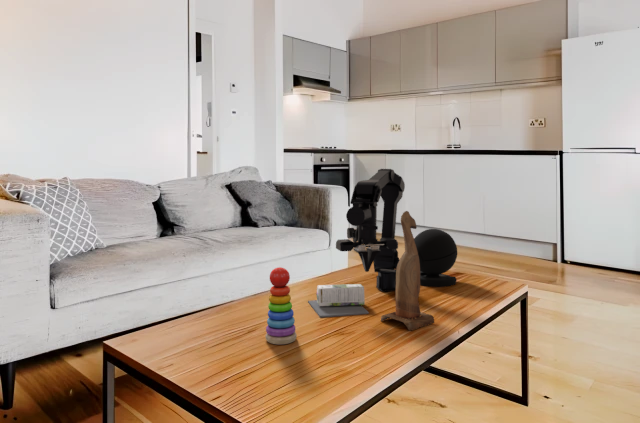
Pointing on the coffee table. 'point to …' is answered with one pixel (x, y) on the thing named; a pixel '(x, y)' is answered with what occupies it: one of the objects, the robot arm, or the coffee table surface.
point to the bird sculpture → (408, 282)
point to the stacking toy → (280, 310)
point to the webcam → (435, 257)
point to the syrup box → (340, 295)
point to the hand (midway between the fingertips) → (366, 271)
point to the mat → (337, 310)
